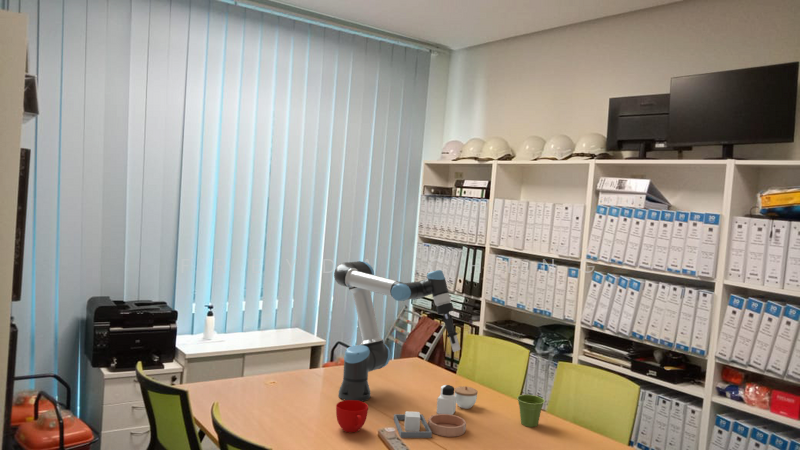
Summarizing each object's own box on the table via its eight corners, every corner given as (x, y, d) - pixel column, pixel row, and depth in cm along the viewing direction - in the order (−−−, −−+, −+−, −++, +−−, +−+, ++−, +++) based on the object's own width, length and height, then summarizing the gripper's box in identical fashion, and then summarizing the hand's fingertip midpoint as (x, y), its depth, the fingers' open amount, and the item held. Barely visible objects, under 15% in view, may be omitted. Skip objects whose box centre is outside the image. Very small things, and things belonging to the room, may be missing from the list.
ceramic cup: (343, 441, 225) (345, 416, 225) (330, 425, 240) (332, 401, 240) (374, 438, 230) (376, 413, 230) (360, 422, 246) (361, 398, 245)
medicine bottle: (455, 411, 266) (457, 385, 266) (451, 416, 259) (453, 389, 259) (440, 408, 268) (442, 382, 268) (436, 413, 262) (438, 387, 261)
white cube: (419, 431, 240) (420, 417, 240) (404, 431, 240) (405, 416, 239) (418, 426, 246) (419, 412, 246) (404, 425, 246) (405, 411, 245)
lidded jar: (475, 411, 267) (476, 391, 267) (452, 408, 269) (453, 388, 269) (477, 404, 278) (478, 384, 277) (454, 401, 280) (456, 381, 279)
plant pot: (513, 418, 261) (515, 393, 261) (539, 420, 261) (541, 395, 261) (517, 428, 250) (519, 402, 249) (545, 430, 249) (547, 404, 249)
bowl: (432, 436, 235) (433, 427, 235) (425, 422, 250) (425, 413, 250) (469, 436, 237) (469, 427, 237) (459, 422, 252) (460, 414, 252)
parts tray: (400, 437, 232) (400, 432, 232) (393, 419, 251) (393, 414, 251) (431, 437, 234) (431, 432, 234) (422, 419, 253) (422, 414, 253)
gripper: (450, 300, 251) (464, 349, 247) (453, 302, 276) (465, 347, 272) (433, 305, 252) (447, 354, 248) (437, 307, 276) (450, 351, 272)
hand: (456, 350), depth 260 cm, fingers open, 13 cm apart
